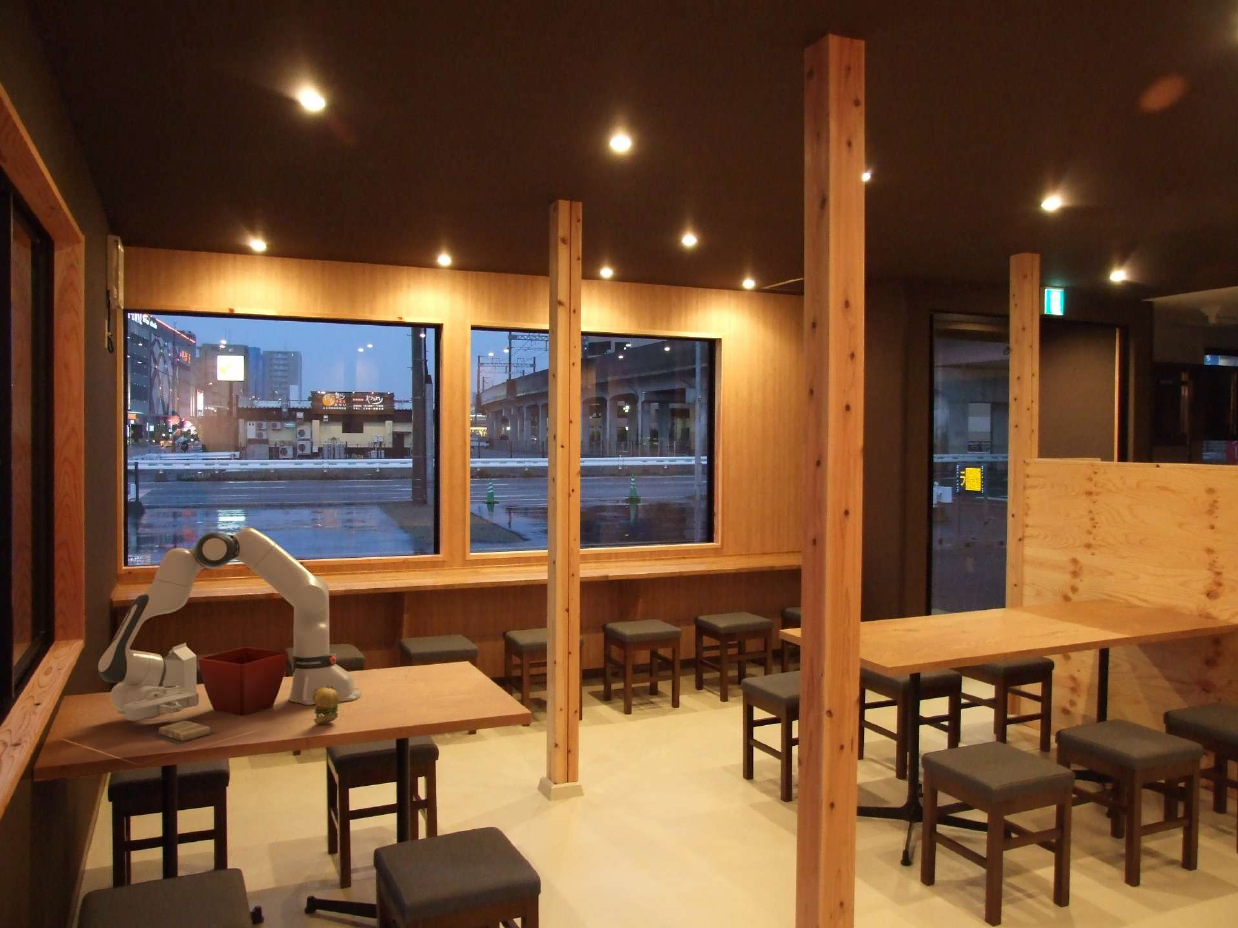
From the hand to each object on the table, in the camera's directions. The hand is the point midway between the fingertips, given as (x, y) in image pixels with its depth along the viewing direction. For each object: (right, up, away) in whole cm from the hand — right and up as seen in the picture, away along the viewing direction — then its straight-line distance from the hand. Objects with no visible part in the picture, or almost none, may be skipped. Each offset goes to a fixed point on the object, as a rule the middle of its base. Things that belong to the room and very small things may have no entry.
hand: (176, 709), depth 259 cm
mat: (+2, -7, -2) cm, 8 cm away
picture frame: (-2, -5, +1) cm, 6 cm away
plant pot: (+9, -7, +26) cm, 28 cm away
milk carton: (-14, -7, +30) cm, 34 cm away
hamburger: (+40, -7, +8) cm, 41 cm away
